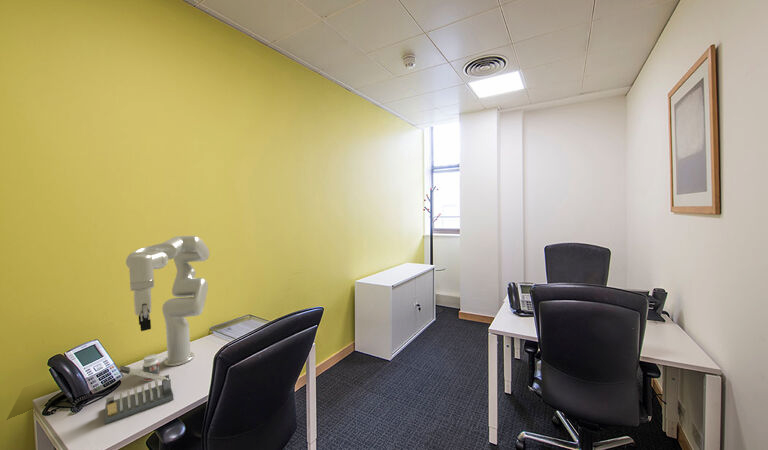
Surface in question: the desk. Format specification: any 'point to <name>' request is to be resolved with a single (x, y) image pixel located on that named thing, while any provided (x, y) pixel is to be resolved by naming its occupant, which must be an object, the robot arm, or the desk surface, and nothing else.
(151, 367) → the pill bottle
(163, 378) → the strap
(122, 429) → the desk surface
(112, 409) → the grey slotted rack
